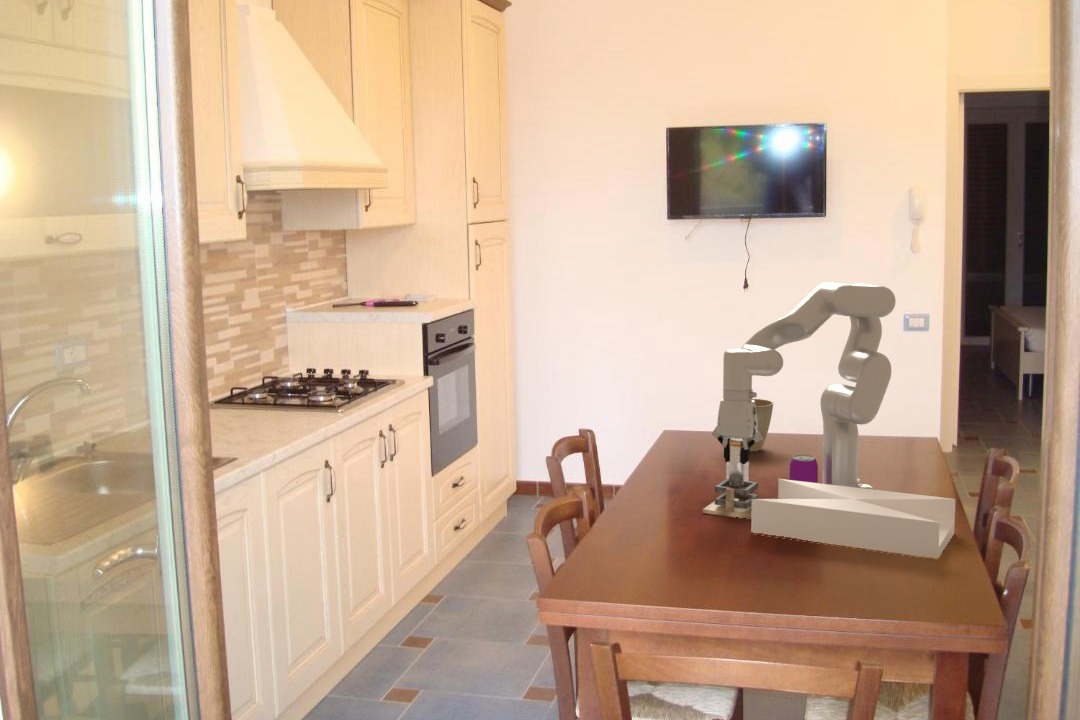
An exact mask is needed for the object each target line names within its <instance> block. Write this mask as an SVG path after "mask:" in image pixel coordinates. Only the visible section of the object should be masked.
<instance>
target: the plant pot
mask: <svg viewBox="0 0 1080 720" xmlns="http://www.w3.org/2000/svg"><path fill="white" fill-rule="evenodd" d="M752 400H754V401H755V405H756V411H757V423H758V431H759V432H760V434H761V436H762V440H760V441H758V442H756V443H755V444H754V445H752V446H751V447H750V451H751V453H752V452H753V451H754V452H760V451H762V449H763V446H764V443H765V442H766V438H767V436H768V432H769V429H770V425H771V419H772V415H773V409H774V402H773V401H772V400H768V399H762V398H752ZM754 438H755V436H752V437H751V438H750V441H751V440H752V439H754ZM759 450H760V451H759Z"/></svg>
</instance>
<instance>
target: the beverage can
mask: <svg viewBox="0 0 1080 720" xmlns="http://www.w3.org/2000/svg"><path fill="white" fill-rule="evenodd" d="M818 475H819V464H818V461H817V459H816V457H815V456H814V455H810V454H795V455H792V458H791V460H790V463H789V476H788V477H789V479H788V480H794V481H803V482H812V483H819V482H818V477H819V476H818Z"/></svg>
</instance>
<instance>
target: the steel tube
mask: <svg viewBox="0 0 1080 720" xmlns="http://www.w3.org/2000/svg"><path fill="white" fill-rule="evenodd" d="M742 449H743V441H742V440H740V439H732V440H729V486H730V485H731V486H732V487H739V486H742V485H744V464H742V463H741V461H742Z"/></svg>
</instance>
